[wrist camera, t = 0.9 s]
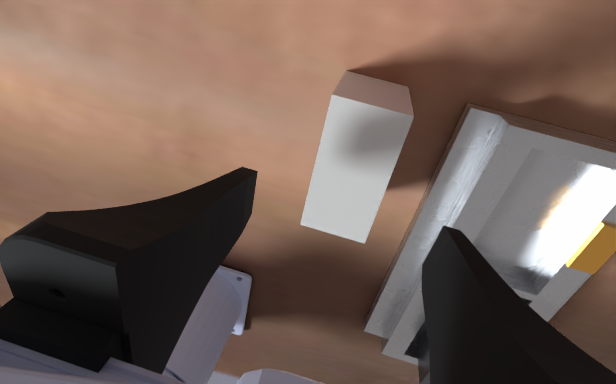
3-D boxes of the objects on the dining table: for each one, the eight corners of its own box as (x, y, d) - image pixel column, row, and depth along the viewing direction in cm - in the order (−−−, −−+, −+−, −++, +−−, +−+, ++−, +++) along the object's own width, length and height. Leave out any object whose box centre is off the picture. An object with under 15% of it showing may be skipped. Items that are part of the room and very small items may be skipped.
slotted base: (364, 321, 28) (360, 378, 24) (467, 102, 18) (490, 134, 14) (495, 362, 27) (514, 429, 23) (678, 158, 17) (772, 210, 13)
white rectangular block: (318, 177, 22) (300, 224, 18) (346, 70, 19) (331, 94, 14) (369, 191, 22) (364, 243, 17) (407, 86, 18) (414, 116, 14)
